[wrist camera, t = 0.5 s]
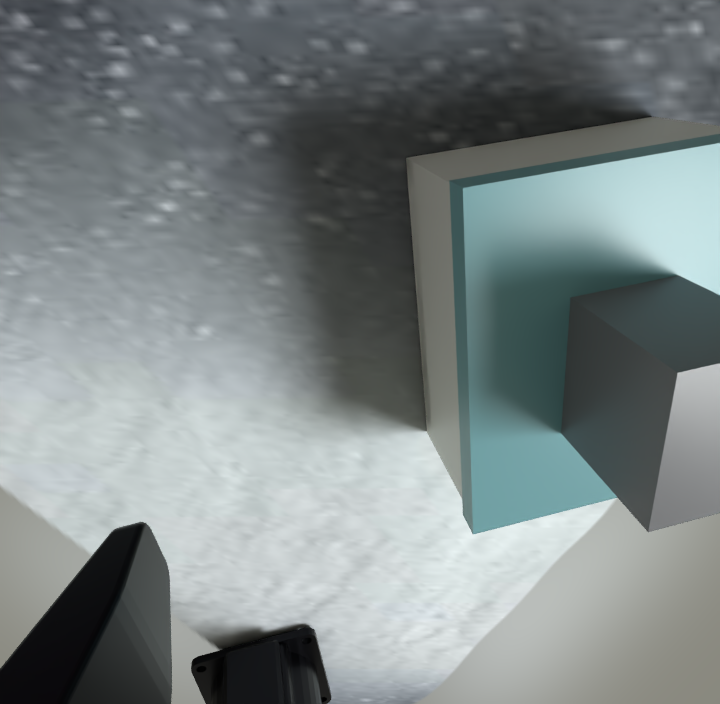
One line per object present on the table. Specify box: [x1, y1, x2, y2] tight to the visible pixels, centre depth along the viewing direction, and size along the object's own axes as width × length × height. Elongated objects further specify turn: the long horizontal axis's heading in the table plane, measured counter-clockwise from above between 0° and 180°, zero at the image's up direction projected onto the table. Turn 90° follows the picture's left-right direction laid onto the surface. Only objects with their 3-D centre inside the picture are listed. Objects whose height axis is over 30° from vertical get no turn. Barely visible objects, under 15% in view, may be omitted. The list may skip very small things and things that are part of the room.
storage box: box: [406, 117, 720, 497], centre depth 21 cm, size 12×10×5 cm
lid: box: [449, 134, 720, 534], centre depth 17 cm, size 12×10×6 cm
